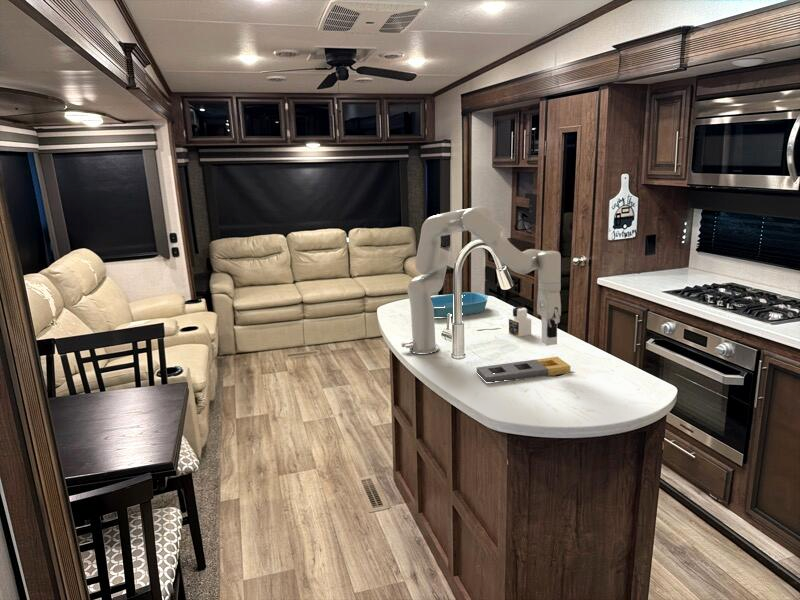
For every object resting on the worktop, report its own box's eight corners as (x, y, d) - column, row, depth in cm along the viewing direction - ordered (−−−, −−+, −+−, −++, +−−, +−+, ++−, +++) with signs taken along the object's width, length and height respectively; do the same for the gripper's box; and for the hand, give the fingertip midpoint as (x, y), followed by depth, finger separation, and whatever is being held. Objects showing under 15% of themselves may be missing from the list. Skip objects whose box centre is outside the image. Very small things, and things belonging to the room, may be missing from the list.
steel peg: (546, 345, 196) (546, 318, 194) (541, 342, 200) (541, 316, 197) (556, 344, 197) (557, 317, 194) (551, 340, 201) (551, 314, 198)
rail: (486, 384, 192) (486, 377, 191) (476, 373, 201) (476, 367, 200) (570, 372, 197) (570, 365, 197) (557, 362, 207) (557, 356, 206)
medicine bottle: (508, 333, 244) (508, 307, 241) (521, 330, 247) (521, 304, 244) (518, 337, 238) (518, 311, 235) (531, 334, 240) (531, 308, 237)
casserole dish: (427, 323, 267) (426, 309, 265) (413, 311, 288) (412, 298, 286) (495, 312, 277) (495, 299, 275) (477, 302, 298) (477, 290, 296)
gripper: (529, 282, 200) (529, 329, 205) (550, 292, 184) (550, 343, 189) (548, 280, 202) (548, 327, 206) (571, 289, 186) (570, 340, 190)
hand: (549, 334), depth 197 cm, fingers closed on steel peg, 4 cm apart
